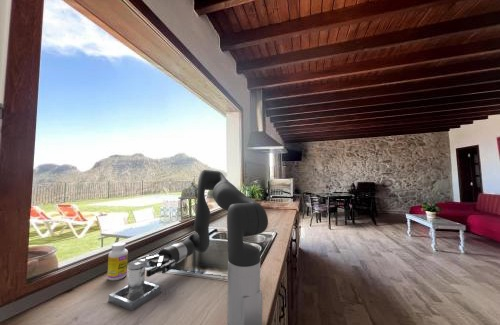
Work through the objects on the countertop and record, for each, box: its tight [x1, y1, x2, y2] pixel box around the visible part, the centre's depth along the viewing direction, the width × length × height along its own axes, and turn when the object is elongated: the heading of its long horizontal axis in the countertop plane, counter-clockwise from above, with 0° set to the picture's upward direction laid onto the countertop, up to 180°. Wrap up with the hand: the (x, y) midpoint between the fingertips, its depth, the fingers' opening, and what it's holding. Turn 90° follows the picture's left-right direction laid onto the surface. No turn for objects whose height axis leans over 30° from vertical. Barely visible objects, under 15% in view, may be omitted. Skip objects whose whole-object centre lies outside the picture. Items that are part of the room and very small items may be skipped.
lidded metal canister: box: [126, 260, 146, 301], centre depth 71 cm, size 5×5×11 cm
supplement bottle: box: [106, 241, 129, 281], centre depth 84 cm, size 7×7×13 cm
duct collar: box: [108, 281, 162, 311], centre depth 71 cm, size 11×11×2 cm
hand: (138, 271), depth 72 cm, fingers open, 8 cm apart
